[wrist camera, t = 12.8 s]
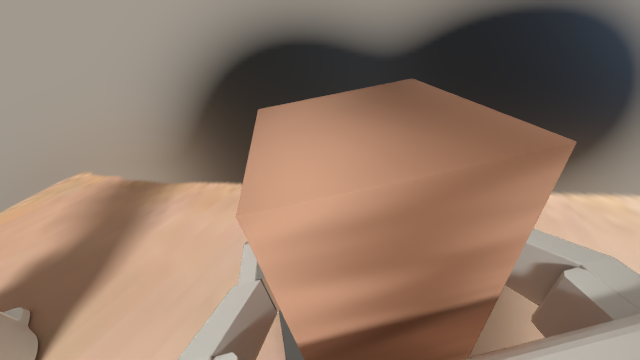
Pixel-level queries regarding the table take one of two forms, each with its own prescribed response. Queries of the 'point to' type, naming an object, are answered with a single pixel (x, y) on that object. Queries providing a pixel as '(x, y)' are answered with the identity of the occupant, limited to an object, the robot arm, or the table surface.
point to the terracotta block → (392, 216)
